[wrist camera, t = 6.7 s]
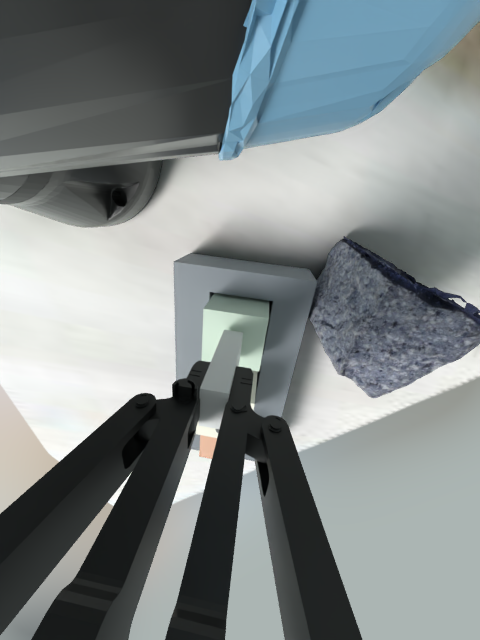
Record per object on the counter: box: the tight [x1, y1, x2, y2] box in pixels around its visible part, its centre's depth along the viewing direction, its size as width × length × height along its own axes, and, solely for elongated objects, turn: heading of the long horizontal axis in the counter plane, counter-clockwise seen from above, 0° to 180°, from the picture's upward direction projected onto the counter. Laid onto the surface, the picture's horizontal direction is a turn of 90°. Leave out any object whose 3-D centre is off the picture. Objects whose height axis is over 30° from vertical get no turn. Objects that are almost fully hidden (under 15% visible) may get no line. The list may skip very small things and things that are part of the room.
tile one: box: [201, 293, 269, 371], centre depth 20 cm, size 5×5×5 cm
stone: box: [308, 236, 480, 398], centre depth 19 cm, size 12×10×10 cm
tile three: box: [199, 435, 217, 459], centre depth 27 cm, size 5×5×5 cm
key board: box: [174, 253, 317, 461], centre depth 26 cm, size 24×12×4 cm, turn 174°
